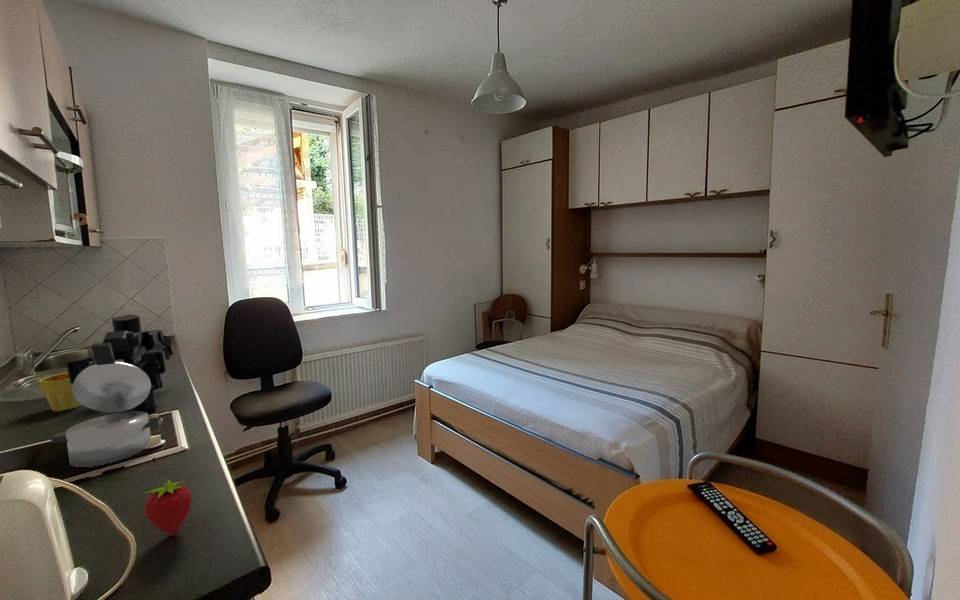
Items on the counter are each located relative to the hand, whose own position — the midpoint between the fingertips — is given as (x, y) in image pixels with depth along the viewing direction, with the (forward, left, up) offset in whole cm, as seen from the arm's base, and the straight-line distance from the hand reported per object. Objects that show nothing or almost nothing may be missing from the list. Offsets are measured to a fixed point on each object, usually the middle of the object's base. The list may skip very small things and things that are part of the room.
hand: (108, 379), depth 96 cm
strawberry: (+47, +20, -16) cm, 54 cm away
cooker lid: (+2, +1, 0) cm, 2 cm away
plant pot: (-40, -22, -16) cm, 49 cm away
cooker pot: (+5, +1, -16) cm, 17 cm away
